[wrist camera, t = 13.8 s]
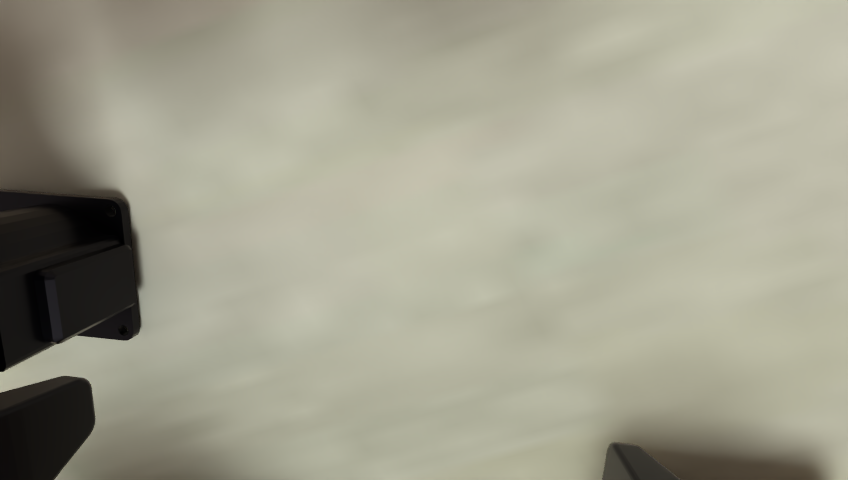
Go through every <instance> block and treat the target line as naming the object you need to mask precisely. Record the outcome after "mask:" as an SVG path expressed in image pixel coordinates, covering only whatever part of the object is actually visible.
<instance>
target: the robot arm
mask: <svg viewBox="0 0 848 480" xmlns="http://www.w3.org/2000/svg"><path fill="white" fill-rule="evenodd" d="M112 206H113V207H114V208H115V210H116V214H114V213H113V211H112ZM125 326H126V327H127V328H128V330H129V331H127V330H126V329H125ZM139 330H140V325H139V315H138V305H137V295H136V285H135V275H134V265H133V255H132V245H131V235H130V225H129V215H128V208H127V205H126V204H125V203H124V202H123V201H122V200H121V199H118V198H109V197H95V196H82V195H68V194H55V193H42V192H28V191H15V190H1V189H0V372H3V371H5V370H7V369H9V368H11V367H13V366H15V365H17V364H19V363H21V362H23V361H25V360H26V359H28V358H30V357H32V356H34V355H36V354H38V353H40V352H42V351H44V350H46V349H48V348H50V347H52V346H54V345H55V344H59V343H62V342H64V341H66V340H68V339H70V338H72V337H74V336H76V335H77V336H87V337H96V338H106V339H115V340H129V339H131V338H133V337H134V336H136V335H138V333H139ZM94 425H95V411H94V403H93V395H92V387H91V384H90V383H89V381H88V380H86V379H85V378H78V377H70V376H61V377H57V378H53V379H50V380H46V381H42V382H39V383H35V384H31V385H27V386H24V387H20V388H16V389H13V390H9V391H5V392H2V393H0V480H54V479H55V478H56V476H57V475H58V474H59V473H60V471H61V470H62V469H63V468H64V466H65V465H66V464H67V463H68V461H69V460H70V459H71V458H72V456H73V455H74V454H75V453H76V451H77V450H78V449H79V448H80V446H81V445H82V444H83V443H84V441H85V440H86V439H87V438H88V436H89V435H90V434H91V432H92V430H93V428H94ZM602 480H680V479H679V478H678V477H677V476H675V475H674V474H673V473H672V472H670V471H669V470H668V469H667V468H666V467H664V466H663V465H662V464H661V463H659V462H658V461H657V460H656V459H654V458H653V457H652V456H651V455H649V454H648V453H647V452H646V451H644V450H643V449H642V448H640V447H639V446H637V445H634V444H625V443H617V442H613V443H611V444H610V445H609V447H608V450H607V455H606V461H605V467H604V472H603V478H602Z"/></svg>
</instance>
